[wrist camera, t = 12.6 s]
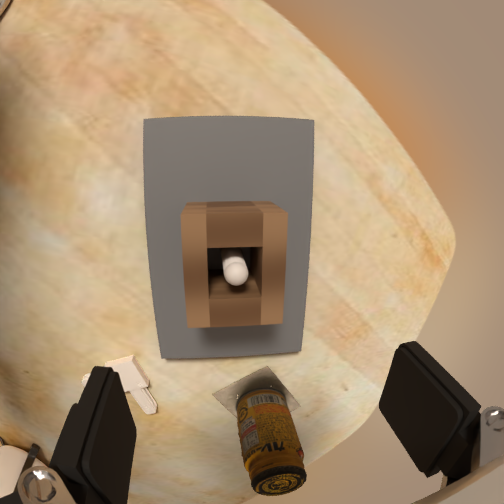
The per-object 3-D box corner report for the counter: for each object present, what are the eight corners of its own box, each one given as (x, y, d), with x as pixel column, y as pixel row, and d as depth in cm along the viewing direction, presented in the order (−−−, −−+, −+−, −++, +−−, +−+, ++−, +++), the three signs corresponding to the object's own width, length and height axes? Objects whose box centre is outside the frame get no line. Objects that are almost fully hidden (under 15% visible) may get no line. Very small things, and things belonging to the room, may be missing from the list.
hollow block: (187, 202, 25) (180, 214, 19) (270, 201, 26) (288, 212, 20) (191, 293, 27) (187, 327, 21) (267, 290, 28) (282, 323, 22)
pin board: (147, 121, 24) (121, 105, 16) (308, 121, 25) (348, 108, 18) (163, 350, 30) (153, 405, 22) (297, 343, 32) (321, 394, 24)
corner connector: (112, 414, 32) (109, 422, 31) (78, 366, 30) (74, 374, 28) (166, 403, 33) (165, 412, 31) (134, 352, 30) (131, 360, 29)
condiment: (250, 429, 35) (265, 506, 24) (211, 393, 32) (217, 479, 21) (300, 404, 35) (330, 480, 23) (267, 363, 32) (293, 448, 21)
